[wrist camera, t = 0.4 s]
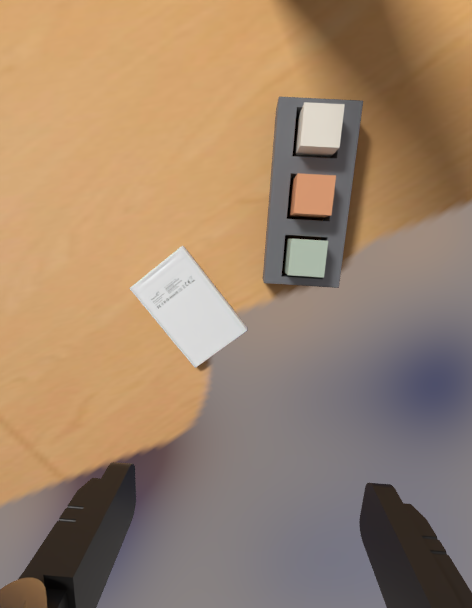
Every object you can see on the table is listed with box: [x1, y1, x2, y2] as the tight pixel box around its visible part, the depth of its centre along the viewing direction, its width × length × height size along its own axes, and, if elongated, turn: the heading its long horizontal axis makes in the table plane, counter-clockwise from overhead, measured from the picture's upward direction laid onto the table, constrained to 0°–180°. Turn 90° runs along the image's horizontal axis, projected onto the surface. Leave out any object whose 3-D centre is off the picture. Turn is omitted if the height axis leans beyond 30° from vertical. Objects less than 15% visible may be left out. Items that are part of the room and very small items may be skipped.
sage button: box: [284, 239, 328, 277], centre depth 32 cm, size 4×4×3 cm
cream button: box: [295, 102, 345, 158], centre depth 29 cm, size 4×4×3 cm
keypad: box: [263, 97, 363, 288], centre depth 32 cm, size 18×8×3 cm, turn 176°
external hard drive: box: [130, 246, 248, 368], centre depth 36 cm, size 2×8×12 cm
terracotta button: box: [289, 173, 336, 218], centre depth 30 cm, size 4×4×3 cm
